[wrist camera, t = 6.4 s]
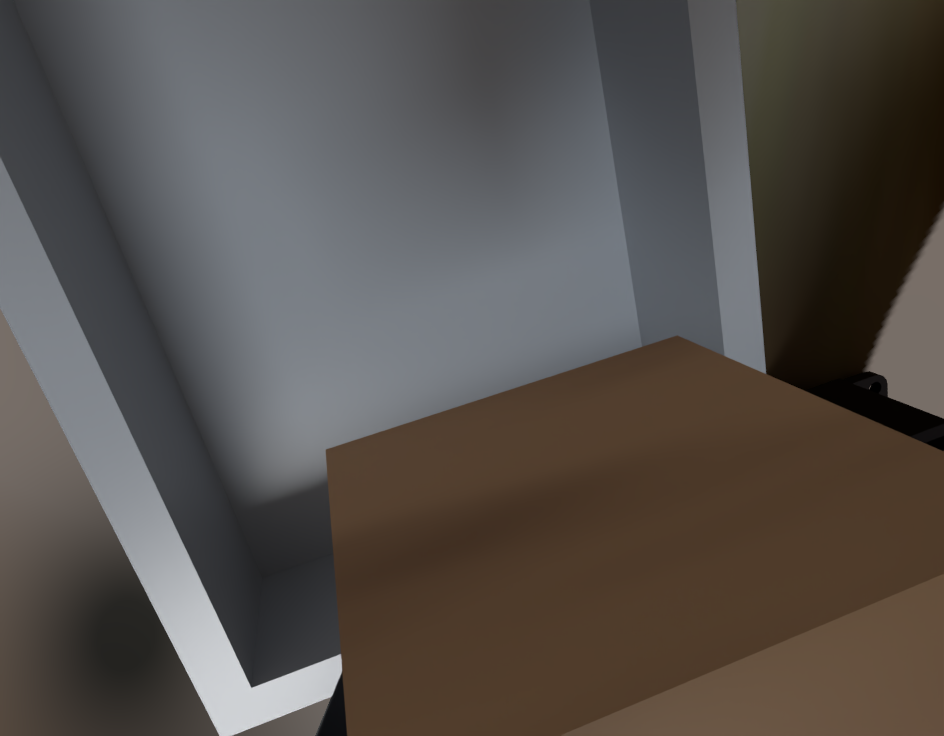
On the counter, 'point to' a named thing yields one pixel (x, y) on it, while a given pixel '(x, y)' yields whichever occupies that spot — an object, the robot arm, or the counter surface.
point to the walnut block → (641, 561)
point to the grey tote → (342, 259)
